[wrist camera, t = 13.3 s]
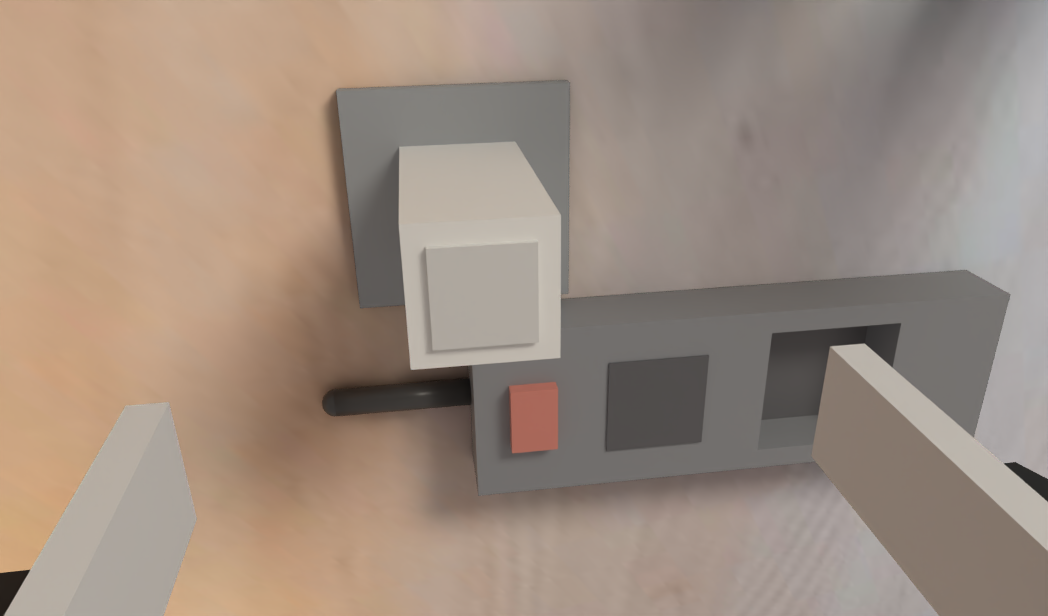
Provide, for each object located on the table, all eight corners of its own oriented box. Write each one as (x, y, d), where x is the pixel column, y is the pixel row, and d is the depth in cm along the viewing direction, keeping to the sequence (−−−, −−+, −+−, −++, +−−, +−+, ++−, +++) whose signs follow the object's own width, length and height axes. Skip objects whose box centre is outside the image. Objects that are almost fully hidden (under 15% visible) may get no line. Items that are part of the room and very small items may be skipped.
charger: (407, 256, 33) (410, 373, 24) (399, 146, 31) (398, 226, 22) (517, 249, 34) (561, 360, 24) (515, 141, 32) (562, 217, 22)
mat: (360, 302, 34) (359, 308, 34) (337, 88, 30) (336, 90, 30) (565, 288, 35) (568, 293, 35) (567, 80, 32) (569, 82, 31)
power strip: (333, 470, 37) (327, 519, 34) (312, 316, 34) (303, 354, 31) (933, 413, 41) (979, 453, 38) (966, 270, 38) (1020, 299, 35)
